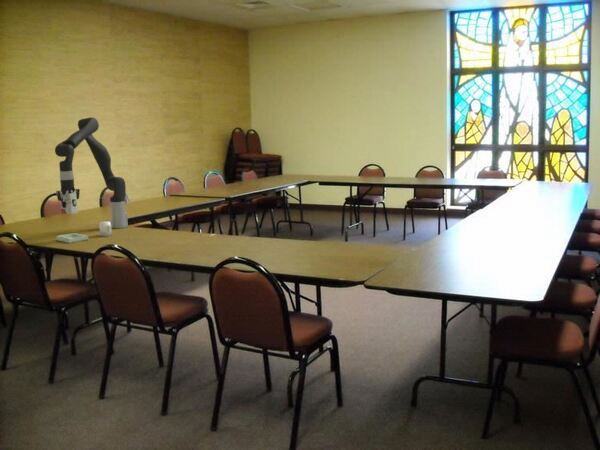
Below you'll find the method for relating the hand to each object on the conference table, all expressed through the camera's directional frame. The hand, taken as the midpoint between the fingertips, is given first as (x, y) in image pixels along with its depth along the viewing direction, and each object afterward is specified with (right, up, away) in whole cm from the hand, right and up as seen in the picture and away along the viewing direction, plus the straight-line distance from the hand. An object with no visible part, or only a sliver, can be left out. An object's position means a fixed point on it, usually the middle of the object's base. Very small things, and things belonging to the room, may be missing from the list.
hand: (69, 207), depth 383 cm
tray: (+1, -20, +3) cm, 20 cm away
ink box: (0, -4, +1) cm, 4 cm away
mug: (+17, -17, +16) cm, 29 cm away
